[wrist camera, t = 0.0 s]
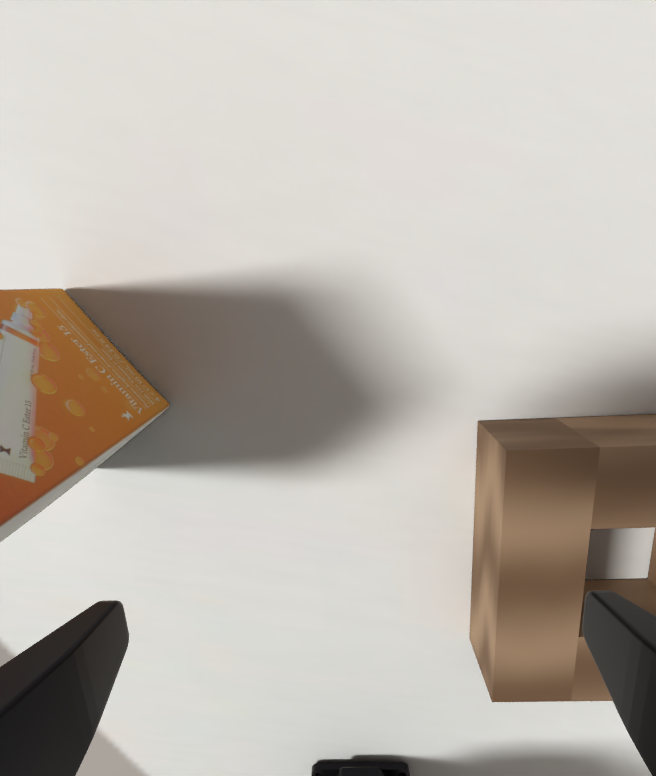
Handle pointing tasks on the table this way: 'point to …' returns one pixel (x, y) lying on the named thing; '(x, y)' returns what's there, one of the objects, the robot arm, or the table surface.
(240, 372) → the table surface
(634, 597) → the walnut socket block
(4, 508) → the small box
